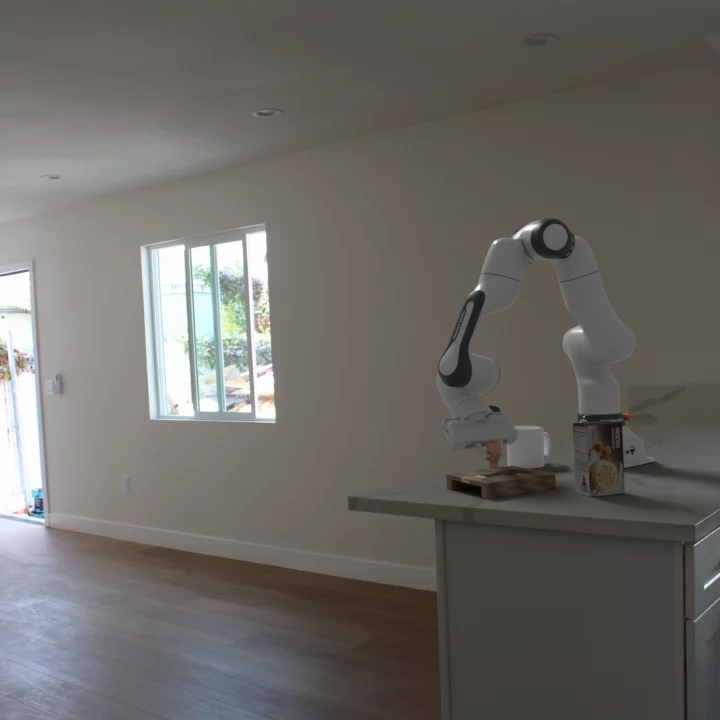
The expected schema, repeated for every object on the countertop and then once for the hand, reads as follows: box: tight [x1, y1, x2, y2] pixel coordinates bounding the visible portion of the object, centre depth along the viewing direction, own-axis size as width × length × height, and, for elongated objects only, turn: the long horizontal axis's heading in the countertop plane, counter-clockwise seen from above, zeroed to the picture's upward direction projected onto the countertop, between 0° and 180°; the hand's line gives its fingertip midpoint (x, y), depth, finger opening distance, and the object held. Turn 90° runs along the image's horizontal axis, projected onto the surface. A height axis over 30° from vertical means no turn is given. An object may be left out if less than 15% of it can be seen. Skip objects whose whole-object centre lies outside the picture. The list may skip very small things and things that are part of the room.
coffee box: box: [572, 421, 626, 498], centre depth 181 cm, size 9×6×16 cm
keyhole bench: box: [445, 465, 557, 500], centre depth 191 cm, size 20×16×4 cm
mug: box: [506, 425, 551, 469], centre depth 224 cm, size 14×10×11 cm
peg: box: [486, 442, 501, 469], centre depth 206 cm, size 5×5×9 cm
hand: (495, 457), depth 205 cm, fingers closed on peg, 3 cm apart
